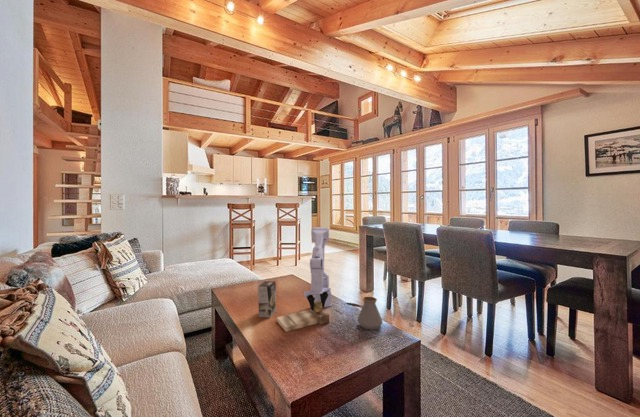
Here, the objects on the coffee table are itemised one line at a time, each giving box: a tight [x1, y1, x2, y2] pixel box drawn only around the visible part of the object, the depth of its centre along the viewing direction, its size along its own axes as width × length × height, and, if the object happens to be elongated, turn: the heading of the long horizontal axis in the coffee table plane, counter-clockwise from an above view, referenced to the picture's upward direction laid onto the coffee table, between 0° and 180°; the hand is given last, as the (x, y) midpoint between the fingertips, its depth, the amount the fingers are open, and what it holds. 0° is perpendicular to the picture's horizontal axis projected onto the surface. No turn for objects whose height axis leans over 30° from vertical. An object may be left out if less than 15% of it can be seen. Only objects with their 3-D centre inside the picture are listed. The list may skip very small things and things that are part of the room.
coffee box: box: [257, 280, 277, 319], centre depth 141 cm, size 9×6×16 cm
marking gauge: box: [309, 301, 330, 325], centre depth 135 cm, size 5×13×8 cm, turn 29°
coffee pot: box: [343, 296, 383, 331], centre depth 123 cm, size 21×12×15 cm, turn 129°
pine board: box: [276, 309, 319, 333], centre depth 132 cm, size 22×12×2 cm, turn 119°
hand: (317, 308), depth 135 cm, fingers open, 5 cm apart
